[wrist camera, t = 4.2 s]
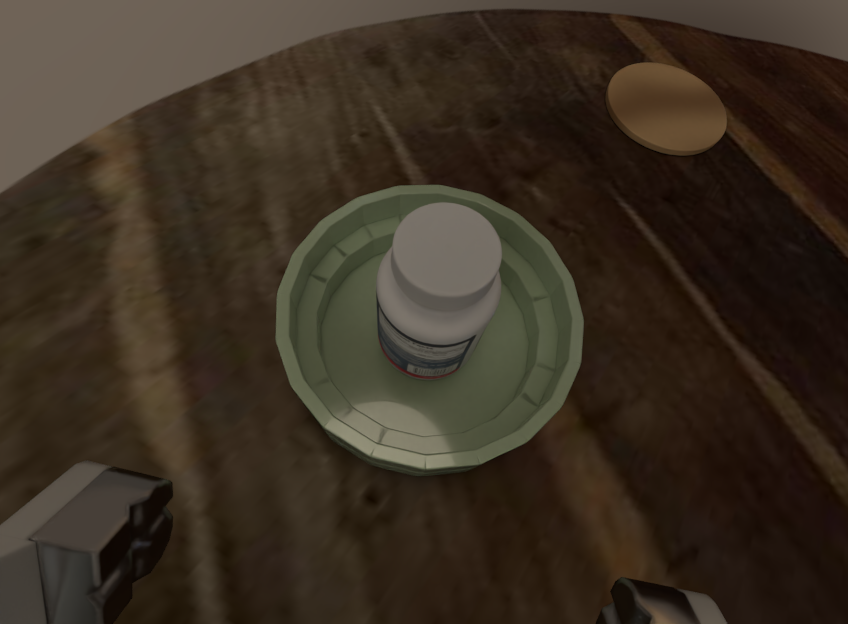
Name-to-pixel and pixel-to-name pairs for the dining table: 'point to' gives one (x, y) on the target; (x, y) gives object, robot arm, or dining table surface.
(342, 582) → the dining table surface
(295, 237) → the dining table surface
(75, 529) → the robot arm
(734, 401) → the dining table surface
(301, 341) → the bowl
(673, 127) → the coaster
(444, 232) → the pill bottle
